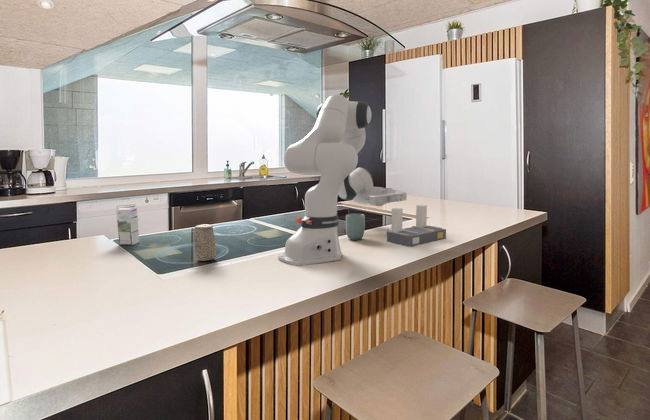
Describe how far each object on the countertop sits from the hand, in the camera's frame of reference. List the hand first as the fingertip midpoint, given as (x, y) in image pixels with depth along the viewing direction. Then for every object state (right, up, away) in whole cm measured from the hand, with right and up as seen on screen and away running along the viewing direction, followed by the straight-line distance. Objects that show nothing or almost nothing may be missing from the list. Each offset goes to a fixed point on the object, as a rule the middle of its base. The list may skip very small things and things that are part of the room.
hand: (400, 199), depth 186 cm
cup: (-21, -17, -11) cm, 29 cm away
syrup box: (-111, -18, -15) cm, 114 cm away
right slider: (+7, -12, -8) cm, 16 cm away
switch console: (+4, -17, -14) cm, 22 cm away
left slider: (-5, -13, -17) cm, 22 cm away
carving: (-73, -22, -42) cm, 87 cm away
